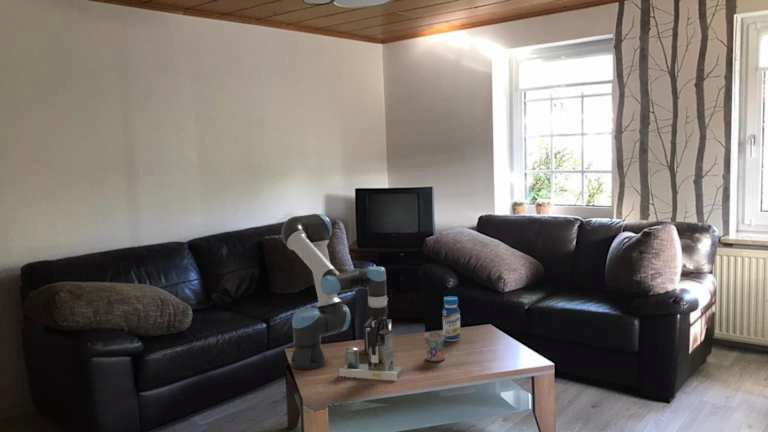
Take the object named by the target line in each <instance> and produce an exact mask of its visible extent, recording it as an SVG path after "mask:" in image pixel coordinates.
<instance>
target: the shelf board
mask: <svg viewBox="0 0 768 432" xmlns="http://www.w3.org/2000/svg"><path fill="white" fill-rule="evenodd" d="M338 369H339V371H338V372H339V374H338V375H339V377H341V376H343V377H344V376H345V378H354V377H356V379H368V380H382V381H383V380H384V381H396V382H397V381H398V379H399V378H400V377H401V376H402V374H403V373H404V367H402V366H394V369H393V370H391V371H389V372H387V371H375V370H370V369H369V368H368V364H362V363H359V368H358V369H347V364H345V366H344V367H343V368H342V367H340V368H338ZM343 377H342V378H343Z"/></svg>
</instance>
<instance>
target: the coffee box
mask: <svg viewBox="0 0 768 432" xmlns="http://www.w3.org/2000/svg"><path fill="white" fill-rule="evenodd" d="M369 334H370V330H368V331H367V344H369ZM372 344H373V343H372ZM377 346H378V363H371V347H368V355H367V359H368V360H367V362H368V364H367V365H368V368H369V369H370V370H375V371H387V372H389V371H391V370H393V369H394V367H395V352H394V351H395V350H394V347H395V346H394V330H393V329H392V330H386V329H381V331H380V332H379V336H378V341H377Z"/></svg>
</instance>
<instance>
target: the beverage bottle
mask: <svg viewBox="0 0 768 432" xmlns="http://www.w3.org/2000/svg"><path fill="white" fill-rule="evenodd" d="M443 305H444V306H443V309H442V317H441V319H442V333H443V334H445V338H444V341H447V342H455V341H456V342H457V341H459V340H460V339H461V338H462V337H461V315H460V313H461V310H460V308H459V307H458V305H459V299H458V297H457V296H453V295H452V296H451V295H448V296H444V297H443Z"/></svg>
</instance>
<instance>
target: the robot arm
mask: <svg viewBox="0 0 768 432" xmlns="http://www.w3.org/2000/svg"><path fill="white" fill-rule="evenodd" d="M332 232H333V227H332V223H331V221H330V219H329V218H328V217H327V216H326V215H324V214H323V213H312V214H305V215H299V216H298V215H295V216H291V217H290V218H288V219H286V221H285V222H284V224H283V226H282V228H281V238H282V241H283V243H284V244H285V245H286V247H287V248H288V249H289V250H291V251H294V252H295V253H296V254H297V256H299V258H300V259H301V260H302V261H303V262H304V263H305V264H306V266H307V267H308V268H309V269H310V270H311V272H312V277H313V280H314V286H315V291H316V295H317V300H318V303H317V304H316V306H315V307H308V308H302V309H299V310H298V311H296V312H294V314H293V315H292V318H291V319H292V321H291V322H292V323H291V325H292V335H293V336H292V337H293V339H292V340H293V350H292V354H291V358H290V367H291V368H293V369H295V368H296V370H301V369H308V370H314V369H313V368H315V369H318V367H319V368H321V367H323V366H325V365H326V364H325V363H327V359H326V358H327V357H326V353H325V351H324V349H323V346H322V339H321V338H323V337H327V336H330V335H333V334H339V333H340V332H344V331H346V330H347V329H348V328H349V325H350V324H351V323H350V322H351V313H350V312H351V311H350V309H349V308H348V306H347V305H345V304H343V300H342V299H340V298H339V297H338V294H340V293H341V294H342V293H346V292H349V291H354V290H359V289H364V290H367V305H368V316H370V317H371V316H372V317H373V321H370V334H369V344H368V347H371V363H378V346H377V341H378V336H379V332H380V331H381V329H386V330H389V326H388V322H387V319H388V300H389V298H388V295H387V272H386V268H385V267H383V266H370V267H368V268H367V269H361V268H351V269H350V270H349V271H345V272H341V273H340V272H339V271H338V270H337V269H336V268H335V267H334V266H333V265H332V263H331V261H330V255H329V250H328V247H327V246H328V244H329V242H330V237H331V236H332ZM386 304H387V305H386ZM386 315H387V316H386ZM372 343H373V344H372ZM324 364H325V365H324ZM320 366H321V367H320Z"/></svg>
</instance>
